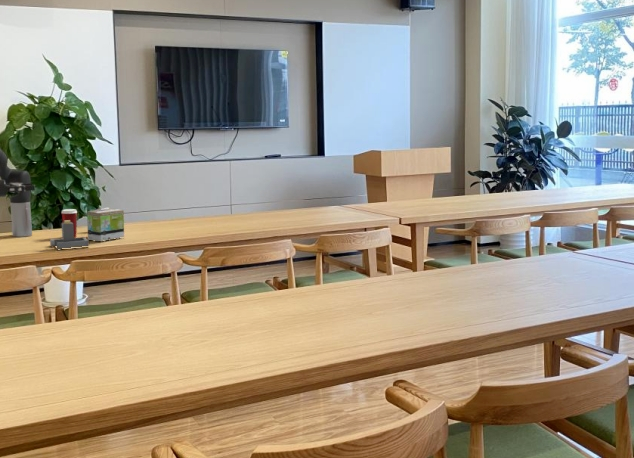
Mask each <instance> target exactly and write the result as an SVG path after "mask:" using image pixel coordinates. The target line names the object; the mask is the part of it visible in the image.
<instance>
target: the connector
mask: <svg viewBox="0 0 634 458" xmlns="http://www.w3.org/2000/svg"><path fill="white" fill-rule="evenodd" d="M61 237H62V238H61V239H62V240H63V242H71V241H74V228H73V223H72V222H70V220H64V223H63V222H61Z"/></svg>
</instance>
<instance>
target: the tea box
mask: <svg viewBox="0 0 634 458" xmlns="http://www.w3.org/2000/svg"><path fill="white" fill-rule="evenodd" d="M102 209H103V208H102ZM124 211H125V210H123V209H118V208H117V209H116V208H109V209H103V210H96V209H94V210H88V211H87V213H86V214H87V223H86V224H87V240H88V241H89V240H95V241H103V240H109V239H114V238H120V237H124V238H125V218H124V217H125V216H124V214H125V213H124ZM95 241H94V242H95ZM109 241H110V240H109Z"/></svg>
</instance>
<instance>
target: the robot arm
mask: <svg viewBox="0 0 634 458" xmlns="http://www.w3.org/2000/svg"><path fill="white" fill-rule="evenodd" d="M8 160H9V159H8V156H7V155H6V153H5V152H4V150H2V148H0V198H3V197H7V192H9V193H11V194H12V193H13V194H14V193H17V194H15V195H12V196H10V197H9V201H10V203H9V204H10V214H11V215H10V217H11V218H10V219H11V232H12V233H11V234H12V237H19V238H20V237H21V238H23V237H31V236H32V235H33V227H32V211H31V196H32V191H35V190H36V189H35V188H36V187H35V184H34V185H33V183H31V181H32V179H31V175H30V173H29V172H28V171H27V170H14V169H11V168H10V167H9V166H8V162H9V161H8Z"/></svg>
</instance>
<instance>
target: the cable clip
mask: <svg viewBox="0 0 634 458" xmlns="http://www.w3.org/2000/svg"><path fill="white" fill-rule="evenodd" d="M54 239H55V238H52V239H49V244H50V245H51V246H55V243H54ZM50 245H49V246H50ZM51 246H50V247H51Z"/></svg>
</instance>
